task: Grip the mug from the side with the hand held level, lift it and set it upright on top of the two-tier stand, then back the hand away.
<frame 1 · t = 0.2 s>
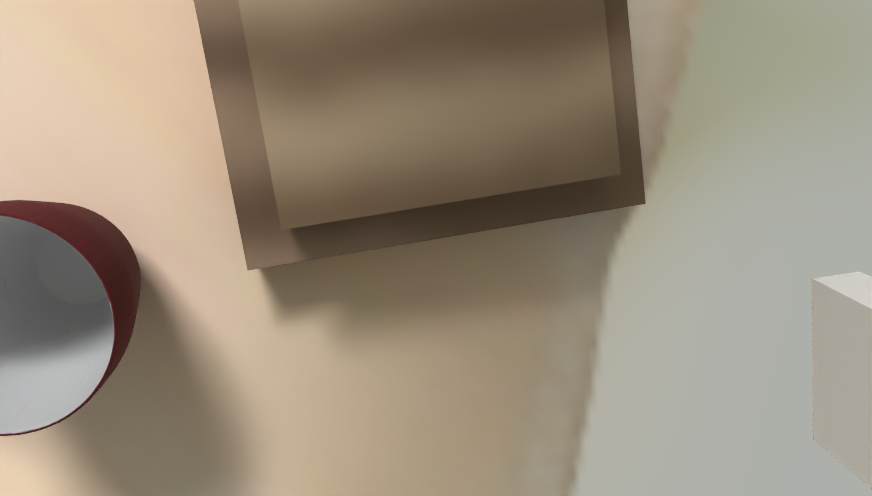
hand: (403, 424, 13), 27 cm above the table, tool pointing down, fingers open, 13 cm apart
mug: (54, 266, 38), on the table
stand: (414, 33, 38), on the table
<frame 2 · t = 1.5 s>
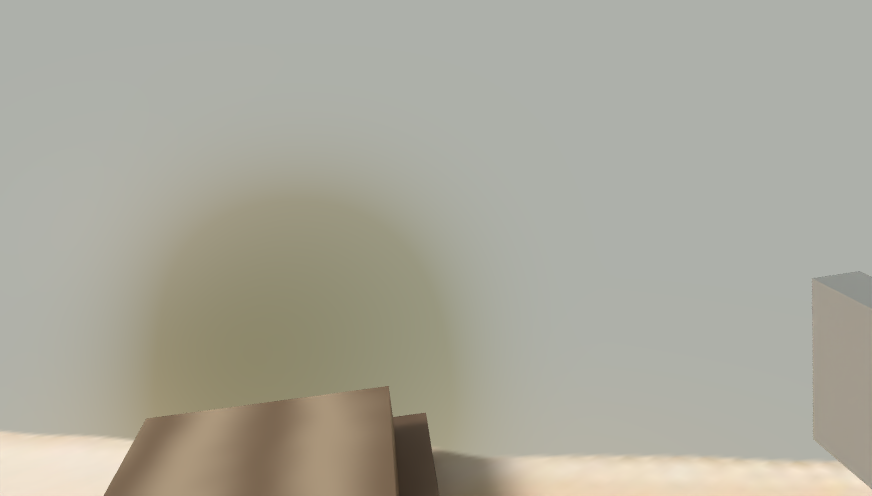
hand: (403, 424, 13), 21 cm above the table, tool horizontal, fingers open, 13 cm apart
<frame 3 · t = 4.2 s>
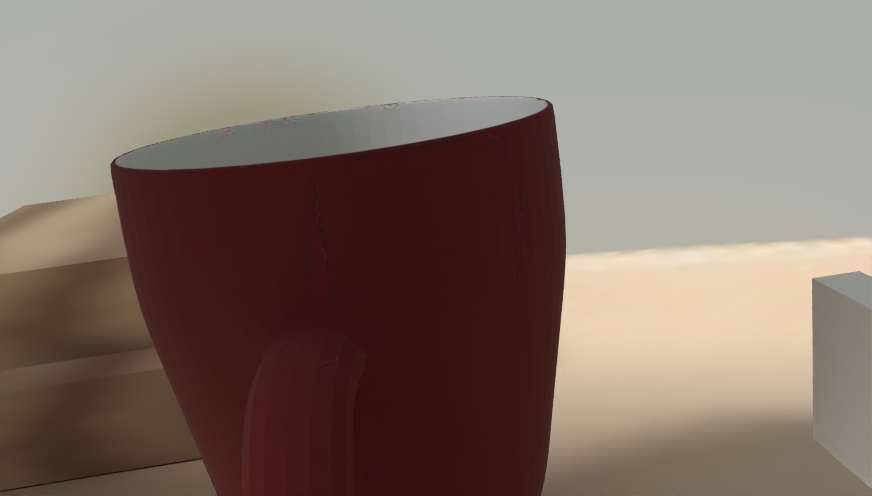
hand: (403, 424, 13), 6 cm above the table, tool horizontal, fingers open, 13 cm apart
stand: (175, 359, 34), on the table
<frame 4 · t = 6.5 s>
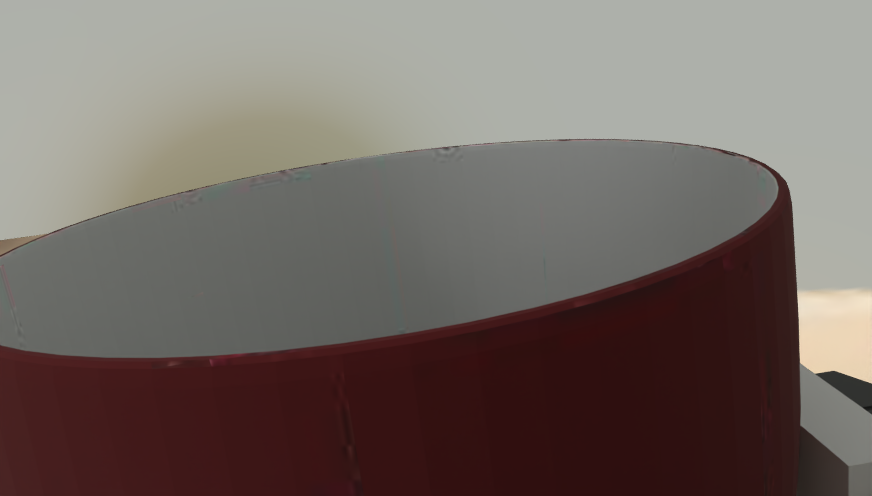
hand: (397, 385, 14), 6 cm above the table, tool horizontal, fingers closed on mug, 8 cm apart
stand: (151, 444, 27), on the table
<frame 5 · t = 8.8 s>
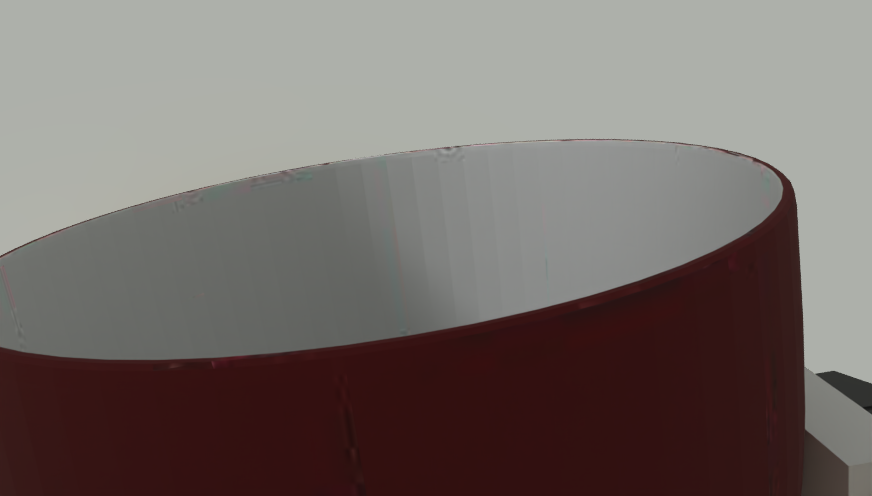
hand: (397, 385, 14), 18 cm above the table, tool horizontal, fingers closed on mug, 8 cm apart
when the fingers open (13 cm above the table, at t = 11.2 s): mug drops 1 cm, resting on stand.
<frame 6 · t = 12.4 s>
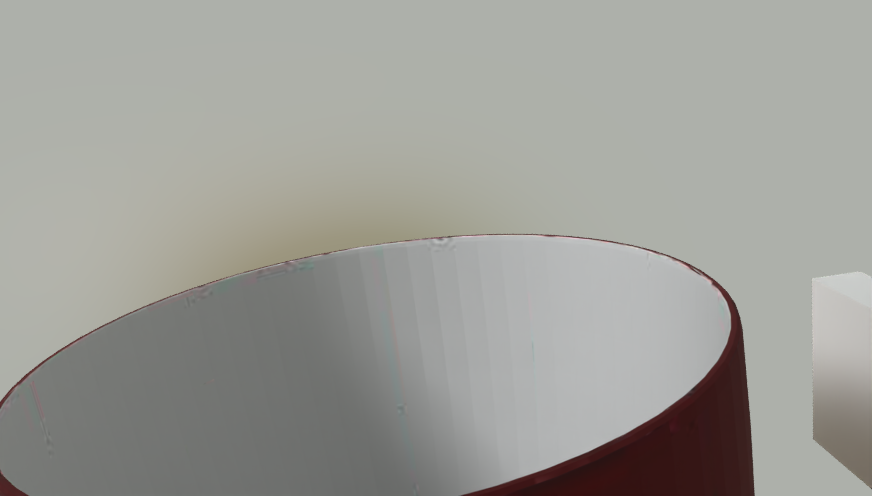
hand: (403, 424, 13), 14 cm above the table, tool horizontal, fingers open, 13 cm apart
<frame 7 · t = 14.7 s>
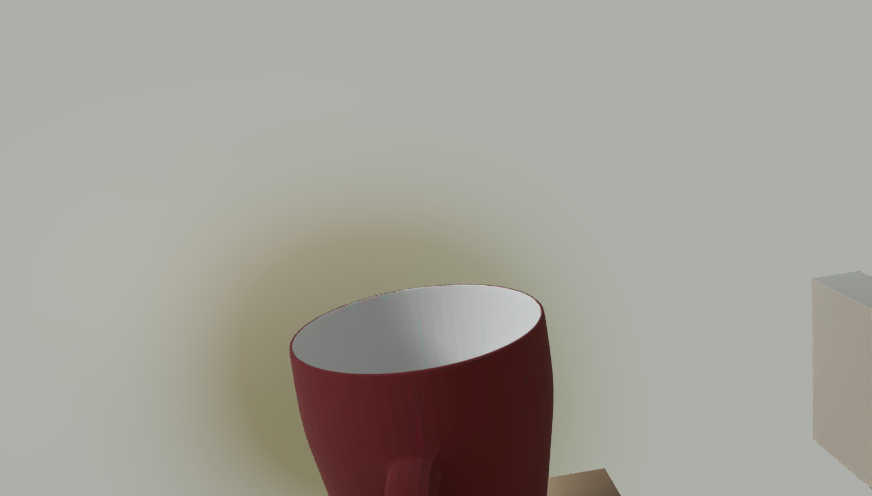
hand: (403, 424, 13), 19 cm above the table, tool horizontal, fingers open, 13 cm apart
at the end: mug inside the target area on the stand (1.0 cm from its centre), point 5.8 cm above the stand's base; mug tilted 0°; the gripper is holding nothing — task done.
